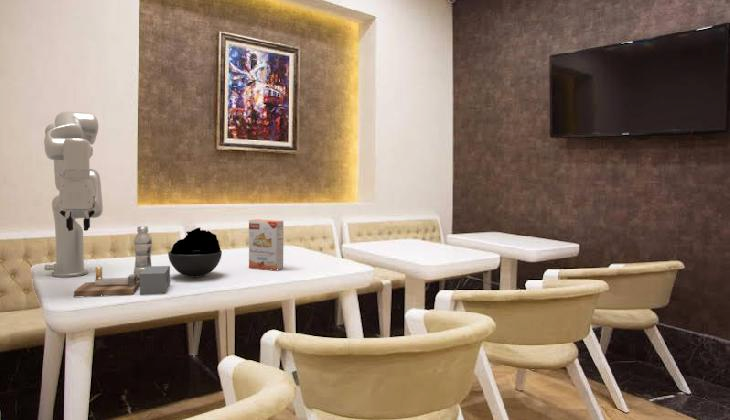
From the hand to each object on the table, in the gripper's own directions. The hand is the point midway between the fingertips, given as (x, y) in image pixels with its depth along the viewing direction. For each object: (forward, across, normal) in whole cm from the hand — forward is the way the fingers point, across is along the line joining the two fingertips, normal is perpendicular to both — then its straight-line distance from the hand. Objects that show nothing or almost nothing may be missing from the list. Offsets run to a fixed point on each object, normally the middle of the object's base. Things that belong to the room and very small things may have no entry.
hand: (78, 229), depth 178 cm
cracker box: (+22, +64, +34) cm, 76 cm away
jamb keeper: (+21, +24, 0) cm, 32 cm away
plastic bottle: (+22, +17, +20) cm, 34 cm away
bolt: (+19, +11, 0) cm, 22 cm away
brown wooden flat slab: (+21, +9, 0) cm, 23 cm away
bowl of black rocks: (+22, +36, +21) cm, 47 cm away
